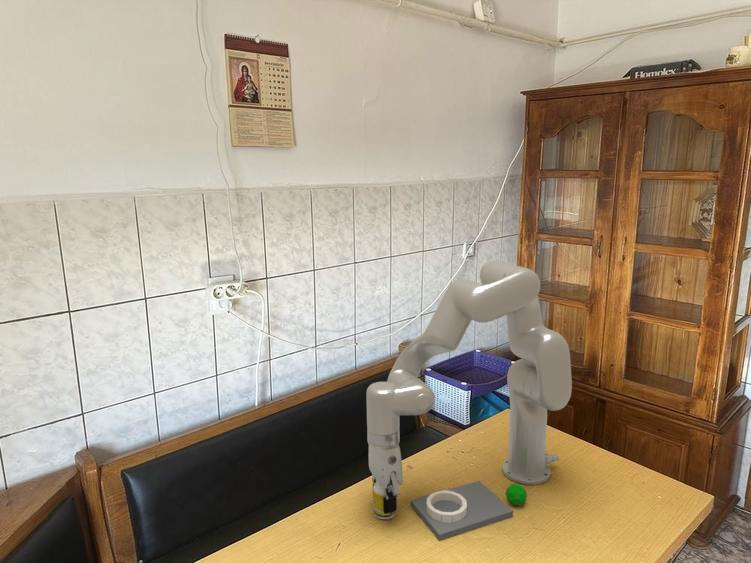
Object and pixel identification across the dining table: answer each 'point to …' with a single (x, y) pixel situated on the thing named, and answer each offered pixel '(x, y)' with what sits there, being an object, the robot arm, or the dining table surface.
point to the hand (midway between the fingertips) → (384, 503)
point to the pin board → (475, 510)
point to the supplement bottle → (380, 501)
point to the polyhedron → (516, 494)
